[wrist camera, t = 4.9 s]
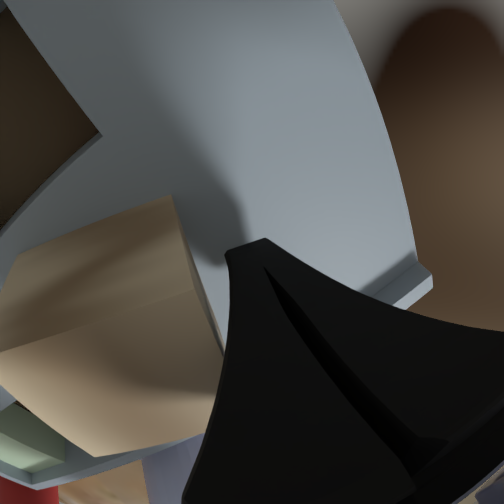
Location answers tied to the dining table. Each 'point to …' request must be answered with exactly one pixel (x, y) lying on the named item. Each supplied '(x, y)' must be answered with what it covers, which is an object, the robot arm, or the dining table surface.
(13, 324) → the block
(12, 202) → the dining table surface
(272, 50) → the trap box
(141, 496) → the dining table surface
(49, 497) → the beer can
